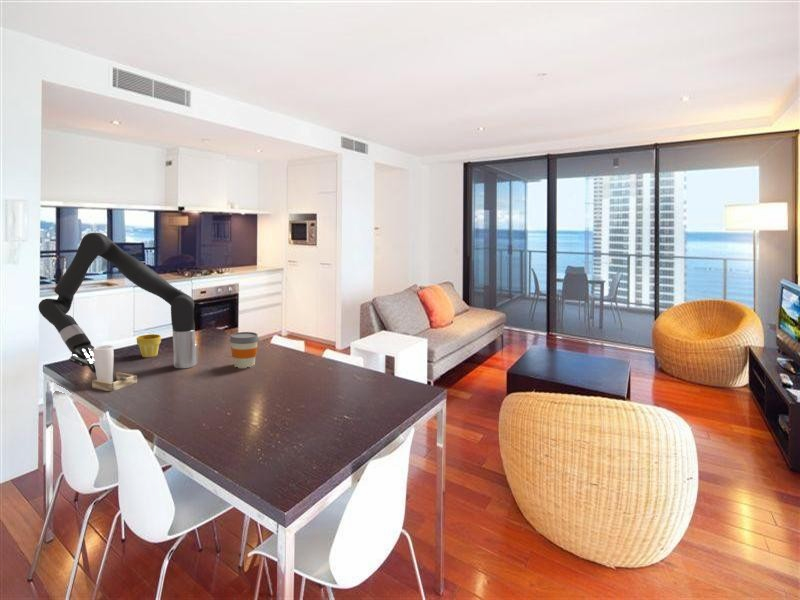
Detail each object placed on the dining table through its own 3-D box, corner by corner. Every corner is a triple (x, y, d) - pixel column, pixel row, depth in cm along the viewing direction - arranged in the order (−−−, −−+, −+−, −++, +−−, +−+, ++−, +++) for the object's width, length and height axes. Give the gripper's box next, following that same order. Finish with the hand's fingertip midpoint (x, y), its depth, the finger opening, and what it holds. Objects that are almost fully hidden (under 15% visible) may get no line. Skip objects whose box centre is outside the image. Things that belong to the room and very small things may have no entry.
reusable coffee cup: (258, 360, 214) (258, 331, 212) (258, 368, 202) (258, 337, 200) (231, 362, 210) (230, 332, 208) (229, 370, 198) (229, 338, 196)
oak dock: (119, 378, 181) (118, 370, 181) (138, 382, 178) (137, 373, 178) (92, 387, 171) (91, 378, 170) (112, 391, 168) (111, 382, 167)
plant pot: (144, 359, 208) (143, 340, 207) (133, 355, 214) (132, 336, 212) (165, 355, 217) (164, 336, 215) (154, 351, 222) (153, 333, 221)
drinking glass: (107, 386, 173) (105, 350, 170) (90, 385, 173) (88, 349, 171) (119, 380, 179) (117, 345, 177) (103, 379, 180) (101, 344, 177)
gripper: (62, 336, 171) (85, 370, 169) (95, 330, 183) (117, 362, 181) (53, 347, 173) (76, 381, 171) (86, 340, 186) (108, 372, 184)
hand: (97, 371), depth 176 cm, fingers closed
